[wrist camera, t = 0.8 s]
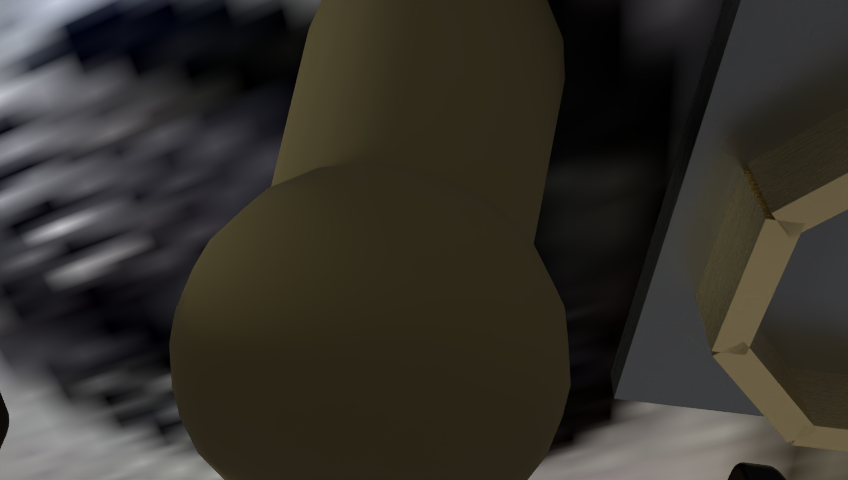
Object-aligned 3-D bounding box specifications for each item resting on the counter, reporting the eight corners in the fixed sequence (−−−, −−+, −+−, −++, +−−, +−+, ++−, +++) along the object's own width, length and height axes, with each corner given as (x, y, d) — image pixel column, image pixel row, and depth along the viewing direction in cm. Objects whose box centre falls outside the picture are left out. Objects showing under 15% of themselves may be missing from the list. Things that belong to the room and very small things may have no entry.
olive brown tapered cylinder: (293, -67, 16) (17, 235, 7) (581, -59, 15) (668, 276, 7) (316, 177, 20) (151, 580, 11) (551, 189, 19) (581, 622, 10)
